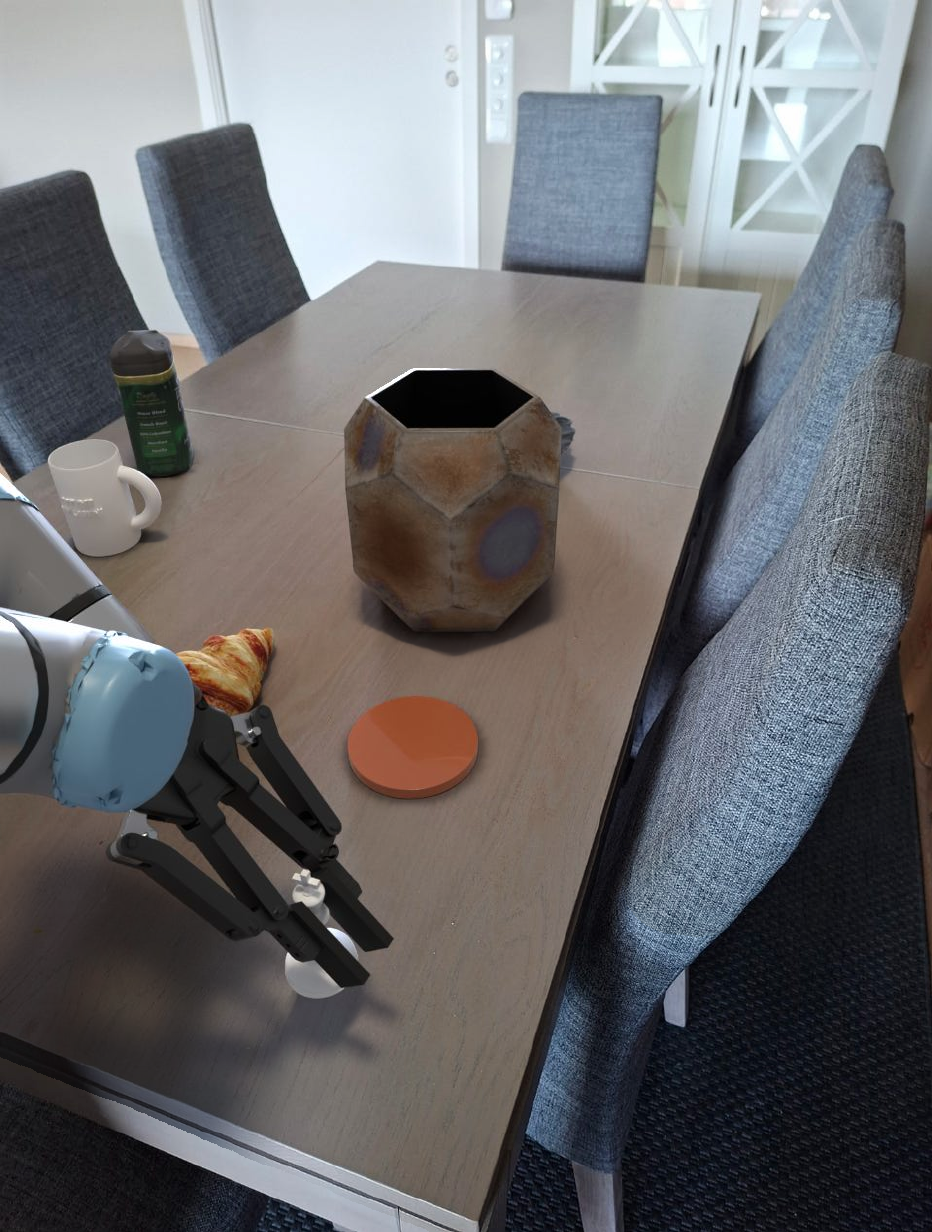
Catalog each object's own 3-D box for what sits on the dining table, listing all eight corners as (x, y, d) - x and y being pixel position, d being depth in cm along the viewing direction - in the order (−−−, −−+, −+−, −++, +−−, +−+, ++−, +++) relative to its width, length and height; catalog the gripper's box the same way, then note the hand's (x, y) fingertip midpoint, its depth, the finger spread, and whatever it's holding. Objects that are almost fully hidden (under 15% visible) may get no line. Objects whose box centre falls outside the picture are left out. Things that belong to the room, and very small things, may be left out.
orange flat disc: (342, 800, 76) (341, 790, 76) (354, 705, 86) (353, 696, 85) (479, 798, 76) (479, 788, 76) (476, 703, 86) (476, 694, 85)
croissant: (255, 662, 96) (216, 602, 94) (319, 649, 91) (280, 584, 88) (121, 795, 81) (69, 728, 78) (189, 789, 75) (136, 716, 72)
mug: (160, 559, 107) (137, 471, 100) (64, 558, 107) (34, 470, 100) (180, 523, 114) (159, 439, 106) (89, 522, 114) (63, 438, 107)
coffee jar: (193, 476, 124) (164, 347, 113) (135, 481, 123) (100, 352, 112) (197, 445, 132) (171, 322, 120) (143, 450, 130) (111, 326, 119)
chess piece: (305, 924, 62) (287, 832, 56) (369, 943, 61) (358, 851, 55) (271, 986, 58) (248, 894, 52) (339, 1008, 57) (323, 917, 51)
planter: (348, 659, 92) (324, 454, 77) (370, 535, 111) (354, 352, 96) (559, 659, 91) (574, 453, 77) (544, 535, 111) (554, 351, 96)
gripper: (175, 641, 60) (395, 883, 64) (-12, 790, 49) (266, 1071, 53) (222, 599, 55) (459, 865, 59) (25, 755, 44) (330, 1069, 48)
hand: (367, 962), depth 56 cm, fingers closed on chess piece, 2 cm apart
